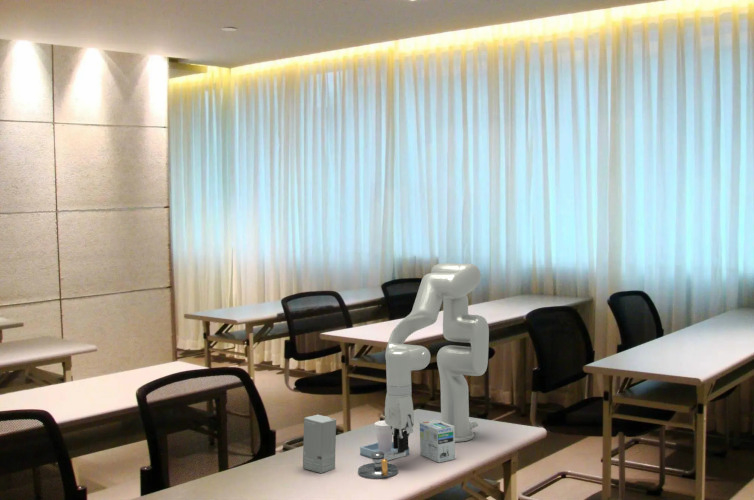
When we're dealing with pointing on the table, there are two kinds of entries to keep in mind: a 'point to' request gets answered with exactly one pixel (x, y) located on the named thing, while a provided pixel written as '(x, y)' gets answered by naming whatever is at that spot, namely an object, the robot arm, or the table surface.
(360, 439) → the table surface
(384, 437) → the smoothie
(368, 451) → the tray
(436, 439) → the light bulb box
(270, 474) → the table surface
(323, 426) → the skincare box
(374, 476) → the crank base
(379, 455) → the crank
